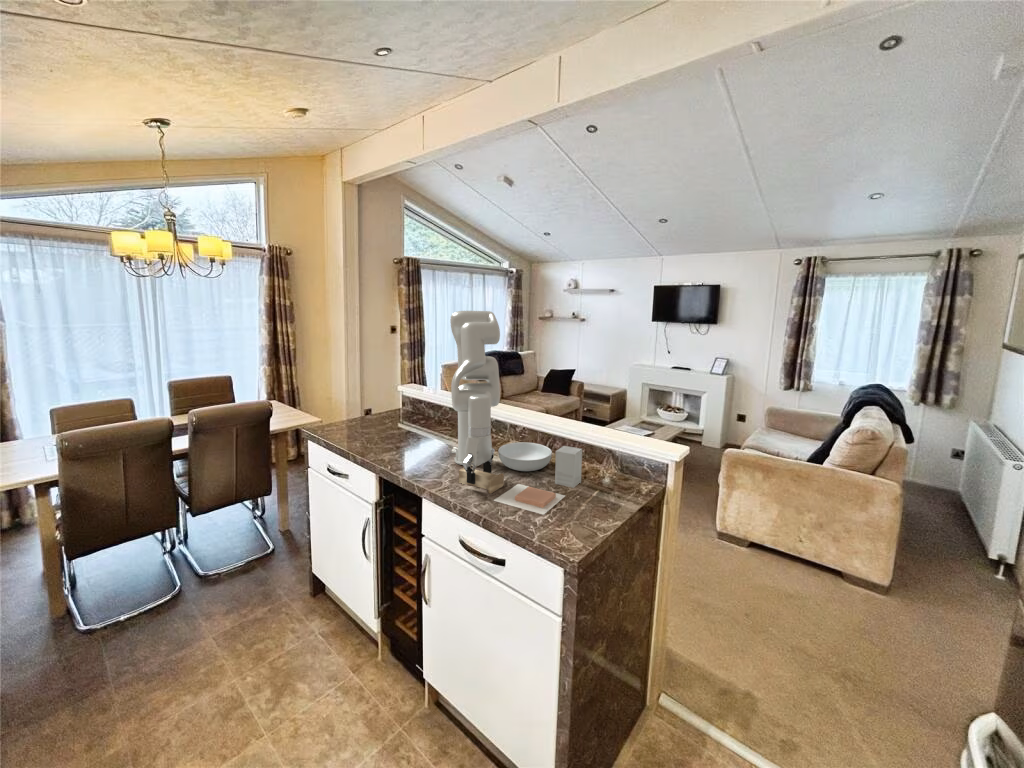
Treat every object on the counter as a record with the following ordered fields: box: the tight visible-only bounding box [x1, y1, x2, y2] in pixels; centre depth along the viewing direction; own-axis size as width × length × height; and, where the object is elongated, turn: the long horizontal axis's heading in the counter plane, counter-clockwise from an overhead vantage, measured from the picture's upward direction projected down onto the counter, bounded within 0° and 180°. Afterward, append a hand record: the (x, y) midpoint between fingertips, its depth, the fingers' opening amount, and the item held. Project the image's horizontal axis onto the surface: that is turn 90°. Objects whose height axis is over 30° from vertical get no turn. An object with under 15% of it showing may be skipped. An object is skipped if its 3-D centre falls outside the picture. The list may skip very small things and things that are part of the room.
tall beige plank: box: [458, 467, 505, 494], centre depth 152 cm, size 15×8×5 cm, turn 59°
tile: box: [515, 486, 556, 508], centre depth 141 cm, size 2×9×10 cm
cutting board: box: [492, 483, 566, 516], centre depth 142 cm, size 18×16×1 cm
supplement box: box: [554, 445, 583, 489], centre depth 155 cm, size 7×7×13 cm
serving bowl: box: [497, 441, 553, 472], centre depth 171 cm, size 21×21×7 cm
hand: (479, 478), depth 152 cm, fingers open, 9 cm apart
